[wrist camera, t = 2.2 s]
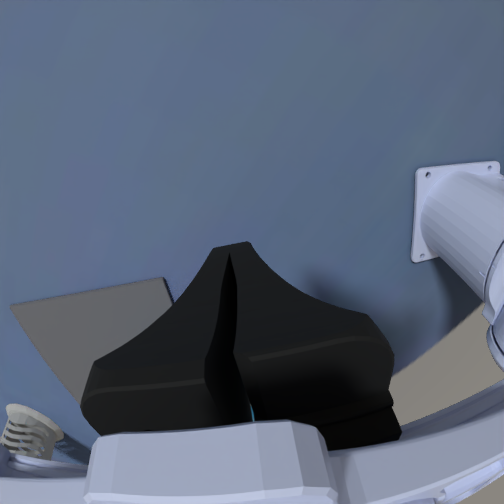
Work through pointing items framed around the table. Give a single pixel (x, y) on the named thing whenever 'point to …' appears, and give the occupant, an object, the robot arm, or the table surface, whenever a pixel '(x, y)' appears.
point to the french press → (30, 432)
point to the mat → (90, 325)
